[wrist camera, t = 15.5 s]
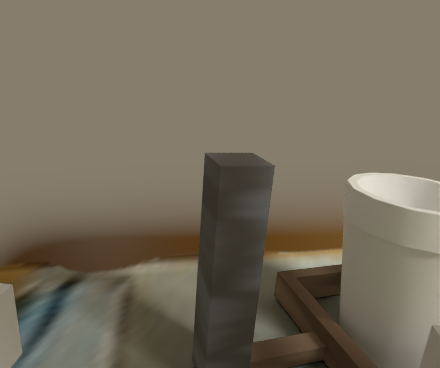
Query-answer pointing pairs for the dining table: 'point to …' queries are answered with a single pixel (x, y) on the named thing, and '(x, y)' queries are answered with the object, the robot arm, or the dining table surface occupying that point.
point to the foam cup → (390, 266)
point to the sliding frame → (256, 279)
